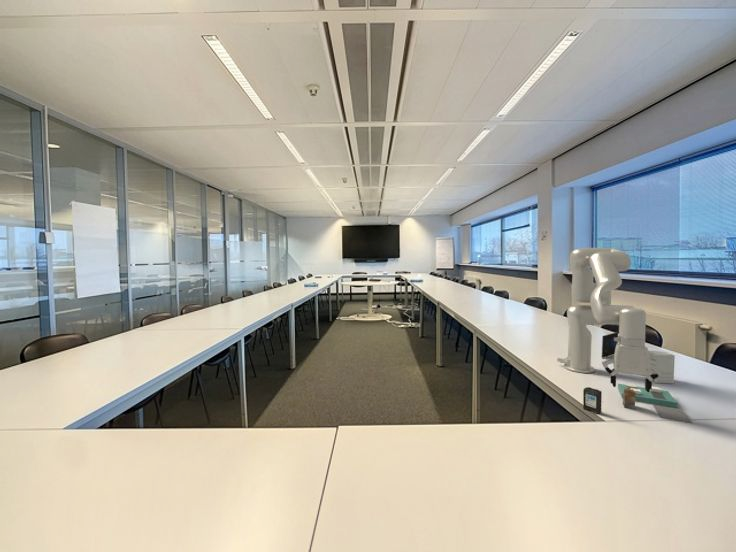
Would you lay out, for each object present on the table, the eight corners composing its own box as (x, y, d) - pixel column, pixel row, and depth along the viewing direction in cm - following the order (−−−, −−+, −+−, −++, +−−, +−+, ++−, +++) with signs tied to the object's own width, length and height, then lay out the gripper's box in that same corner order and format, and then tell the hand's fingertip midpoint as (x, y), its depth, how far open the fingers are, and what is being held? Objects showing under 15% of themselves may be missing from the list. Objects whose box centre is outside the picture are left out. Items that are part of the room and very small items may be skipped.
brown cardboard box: (624, 407, 121) (625, 391, 121) (622, 403, 125) (623, 387, 124) (634, 409, 120) (635, 393, 119) (632, 405, 123) (633, 389, 123)
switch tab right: (651, 391, 130) (651, 388, 130) (649, 389, 132) (649, 386, 132) (660, 392, 129) (661, 389, 129) (659, 390, 131) (659, 387, 131)
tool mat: (660, 417, 114) (660, 416, 114) (653, 405, 122) (653, 404, 122) (691, 423, 110) (692, 421, 110) (682, 410, 118) (682, 409, 118)
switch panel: (622, 398, 129) (622, 393, 128) (617, 388, 139) (617, 383, 139) (677, 408, 120) (677, 402, 120) (667, 396, 131) (668, 391, 131)
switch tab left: (631, 393, 128) (631, 390, 128) (630, 391, 131) (630, 388, 130) (641, 394, 127) (641, 391, 127) (639, 392, 129) (640, 389, 129)
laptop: (628, 366, 168) (629, 340, 167) (601, 359, 179) (602, 335, 178) (643, 360, 177) (644, 336, 177) (616, 354, 188) (617, 331, 187)
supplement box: (660, 377, 151) (662, 350, 150) (674, 383, 144) (675, 355, 143) (643, 377, 152) (644, 349, 151) (655, 383, 144) (657, 354, 144)
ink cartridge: (583, 409, 120) (583, 387, 120) (586, 407, 121) (586, 386, 121) (598, 414, 116) (598, 392, 116) (601, 412, 117) (601, 390, 117)
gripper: (603, 341, 122) (602, 387, 122) (665, 347, 113) (664, 396, 113) (601, 337, 128) (600, 381, 129) (659, 342, 119) (658, 389, 120)
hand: (630, 388), depth 121 cm, fingers open, 9 cm apart
